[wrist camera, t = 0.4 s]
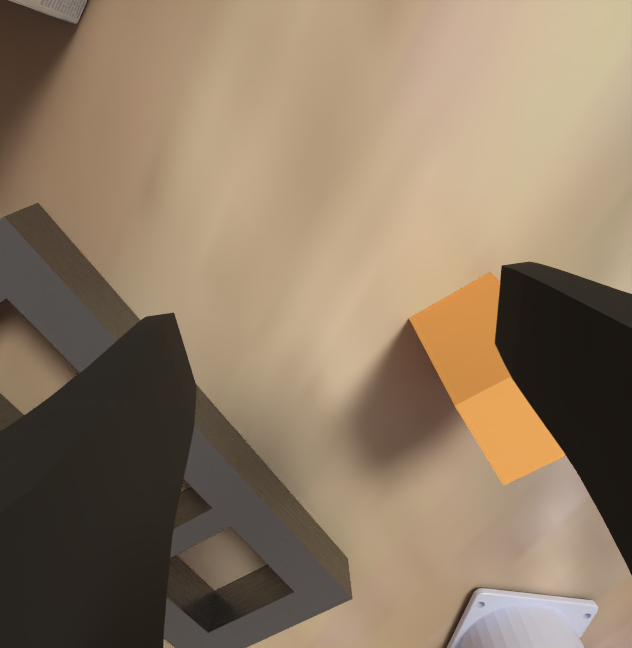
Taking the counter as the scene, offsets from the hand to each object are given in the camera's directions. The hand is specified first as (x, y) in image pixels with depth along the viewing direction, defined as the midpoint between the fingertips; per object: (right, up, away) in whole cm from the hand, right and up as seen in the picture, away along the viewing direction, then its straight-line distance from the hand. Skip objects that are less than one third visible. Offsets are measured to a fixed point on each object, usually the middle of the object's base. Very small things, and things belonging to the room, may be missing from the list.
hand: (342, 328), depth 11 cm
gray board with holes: (-9, -7, +14) cm, 18 cm away
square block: (+6, 0, +12) cm, 13 cm away
